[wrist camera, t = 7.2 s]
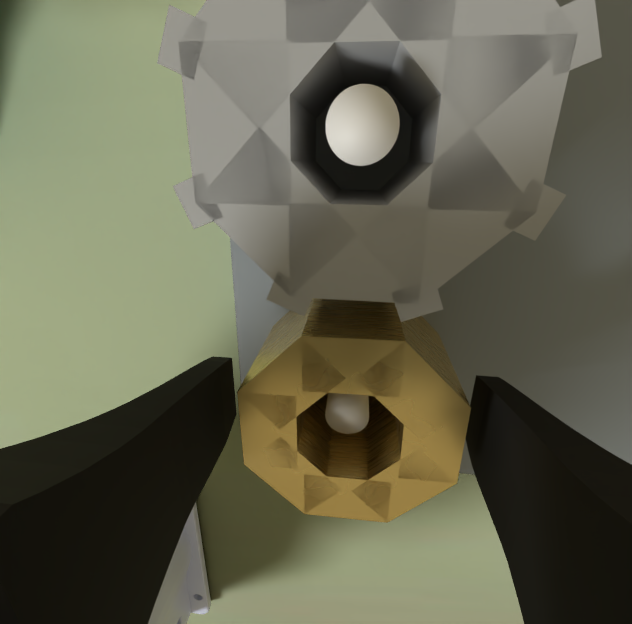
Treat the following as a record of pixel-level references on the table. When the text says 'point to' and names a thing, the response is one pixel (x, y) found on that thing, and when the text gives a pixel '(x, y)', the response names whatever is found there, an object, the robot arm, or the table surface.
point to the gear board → (535, 280)
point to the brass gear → (384, 411)
